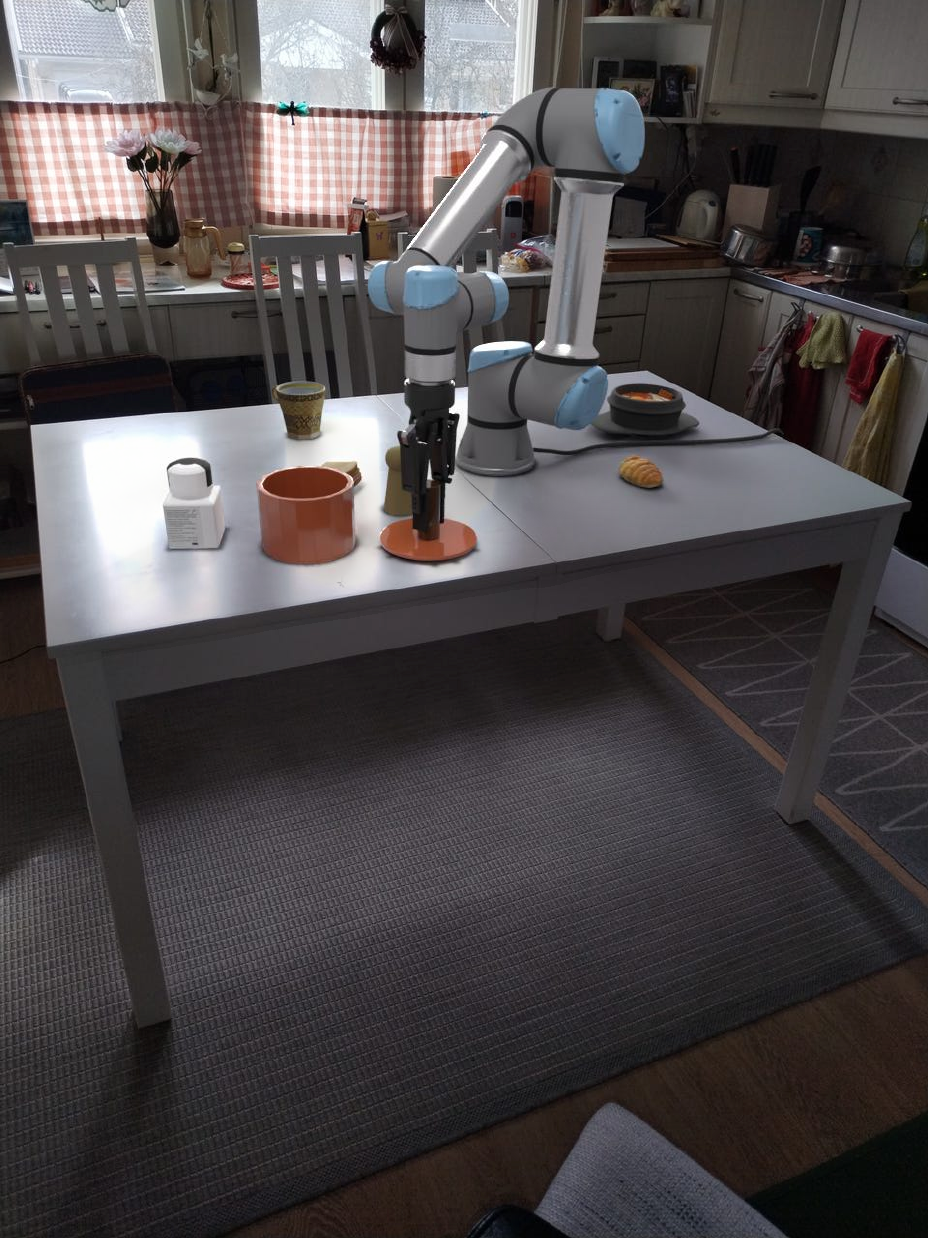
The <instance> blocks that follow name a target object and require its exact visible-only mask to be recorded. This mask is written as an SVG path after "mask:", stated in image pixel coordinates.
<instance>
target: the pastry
mask: <svg viewBox="0 0 928 1238" xmlns="http://www.w3.org/2000/svg"><path fill="white" fill-rule="evenodd" d="M618 472H619V475H620V477H621V478H623V479H624V480H625V481H627V483H631V484H632V485H635V486H637V487H639V488H640V487H641V488H647V489H650V488H651V489H652V488H654V487H660V486H661V485H662V483H664V477H663V474H662V472H661V471H660V468H659V467H657V465H656V464H655V462H651V460H650V459H647V458H642V457H641V456H640V455H639V456H638V455H630V456H629V457H627V458H625V459H624V460H623V461H622V462H621V463H620V465H619V466H618Z"/></svg>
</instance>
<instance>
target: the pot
mask: <svg viewBox="0 0 928 1238" xmlns="http://www.w3.org/2000/svg"><path fill="white" fill-rule="evenodd" d="M256 493H257V504H258V506H257V507H258V515H259V526H260V536H261V537H260V538H261V545H262V550H263V552H264V553H265V554H266V555H267V556H268V557H270V558H272V559H273V560H276V561H279V562H283V563H287V564H293V565H316V564H317V565H318V564H323V563H329V562H332V561H335V560H338V559H341V558H343V557H345V556H347V555H348V554H349V553H350V552H352V551H353V550H354V548H355V545H356V540H357V539H356V537H357V535H356V511H355V487H354V482H353V480H352V478H351V476H350V475H348V474H346V473H345V472H343V471H341V470H337V469H333V468H329V467H321V465H320V466H319V465H296V466H291V467H289V466H288V467H283V468H280V469H276V470H273V471H269V472H268V473H265V474H264V475H263V476H261V477H259V480H258V481H257V482H256Z"/></svg>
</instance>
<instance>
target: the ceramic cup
mask: <svg viewBox="0 0 928 1238" xmlns="http://www.w3.org/2000/svg"><path fill="white" fill-rule="evenodd" d="M271 395H272V397H273V398H274V400H275V401H276V402H277V403H278V404H279V406H280V407H279V408H280V410H281V412H282V415H283V420H284V424H285V428H286V432H287V436H288V438H290V439H293V440H298V441H303V440H304V441H305V440H306V441H307V440H313V439H316V438H318V437H320V432H321V424H322V417H323V416H322V415H323V408H324V405H325V396H326V386H325V385H323V384H321V383H318V382H314V381H289V382H285V383H282V384H279V385H277V384H276V385H273V386H272V388H271Z"/></svg>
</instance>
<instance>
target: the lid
mask: <svg viewBox="0 0 928 1238" xmlns="http://www.w3.org/2000/svg"><path fill="white" fill-rule="evenodd" d="M419 486H420V485H419ZM426 492H429V532H427V533H425V532H421V531H418V530H415V529H412V517H411V518H410V517H409V518H405V519H401V520H397V521H395V522H392V523H390V524H388V525H387V526H385V527H384V528H383V529H382V530H381V531H380V534H379V543H380V545H381V547H382V548H383V549H384V550H385V551H387V552H389V554H392V555H395V556H397V557H401V558H404V559H408V560H414V561H422V562H423V561H425V562H427V561H430V562H433V561H434V562H435V561H445V560H451V559H454V558H455V559H456V558H458V557H461V556H464V555H466V554H468V553H469V552H471V551H472V550H473V549H474V548H475V547H476V545H477V543H478V536H477V533H476V531H474V529H473V528H472V527H470V526H469V525H467V524H466V523H463V522H460V521H457V520H454V519H449V518H445V517H444V523H443V524H440V482H438V481H436V480H433V479H432V478H431V479H430V478H429V479H428V478H427V487H426Z"/></svg>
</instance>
